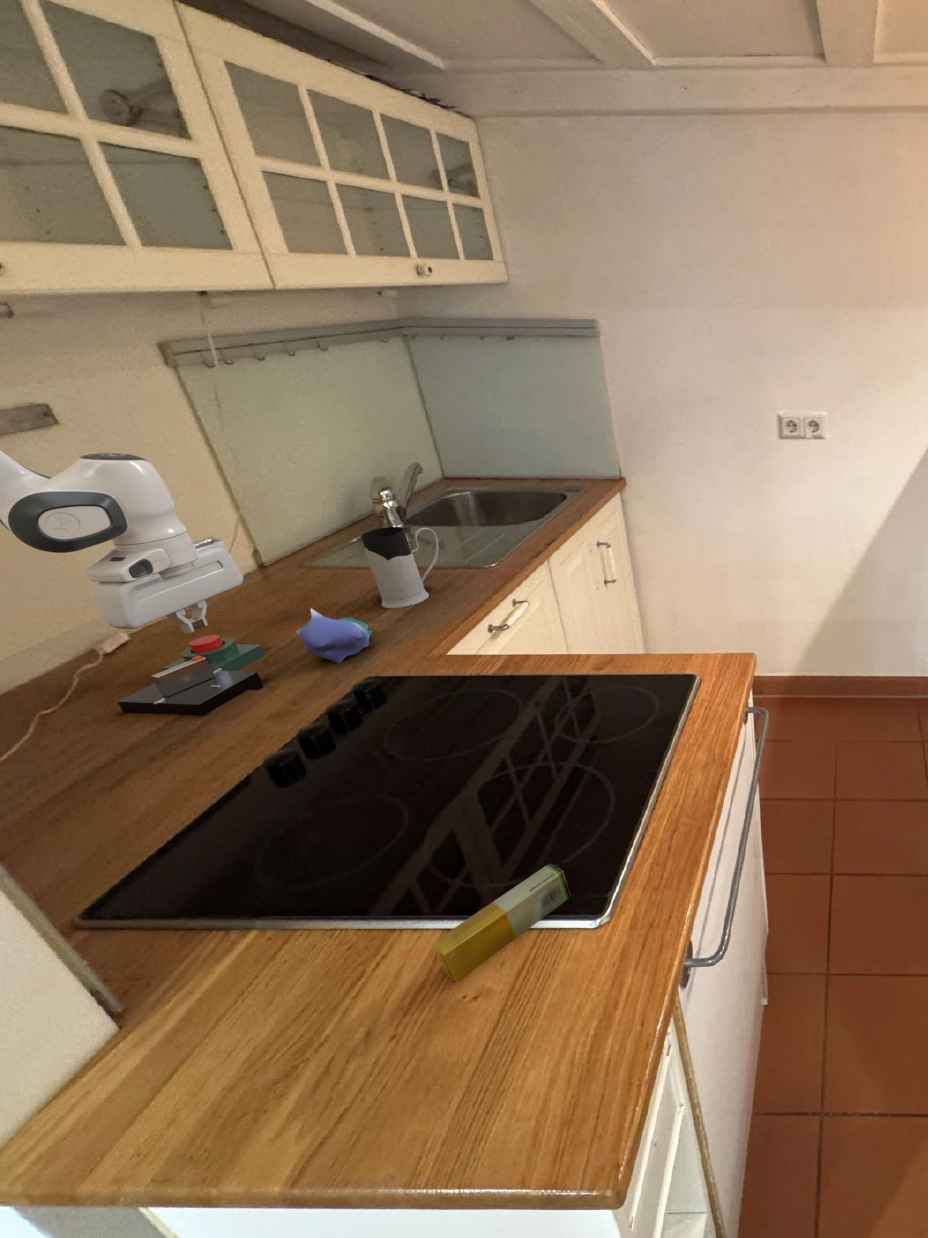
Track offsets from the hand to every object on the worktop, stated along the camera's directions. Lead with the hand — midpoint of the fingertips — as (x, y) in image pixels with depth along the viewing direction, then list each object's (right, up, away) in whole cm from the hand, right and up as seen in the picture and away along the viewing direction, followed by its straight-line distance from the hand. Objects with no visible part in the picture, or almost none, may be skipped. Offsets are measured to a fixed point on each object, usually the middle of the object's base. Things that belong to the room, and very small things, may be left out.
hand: (196, 629), depth 116 cm
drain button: (+1, -3, +2) cm, 4 cm away
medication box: (+79, -29, -50) cm, 98 cm away
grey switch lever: (+7, -9, -9) cm, 14 cm away
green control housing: (+1, -7, +3) cm, 7 cm away
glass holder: (+19, +7, +30) cm, 36 cm away
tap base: (+7, -11, -7) cm, 16 cm away
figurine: (+21, -4, +7) cm, 23 cm away
